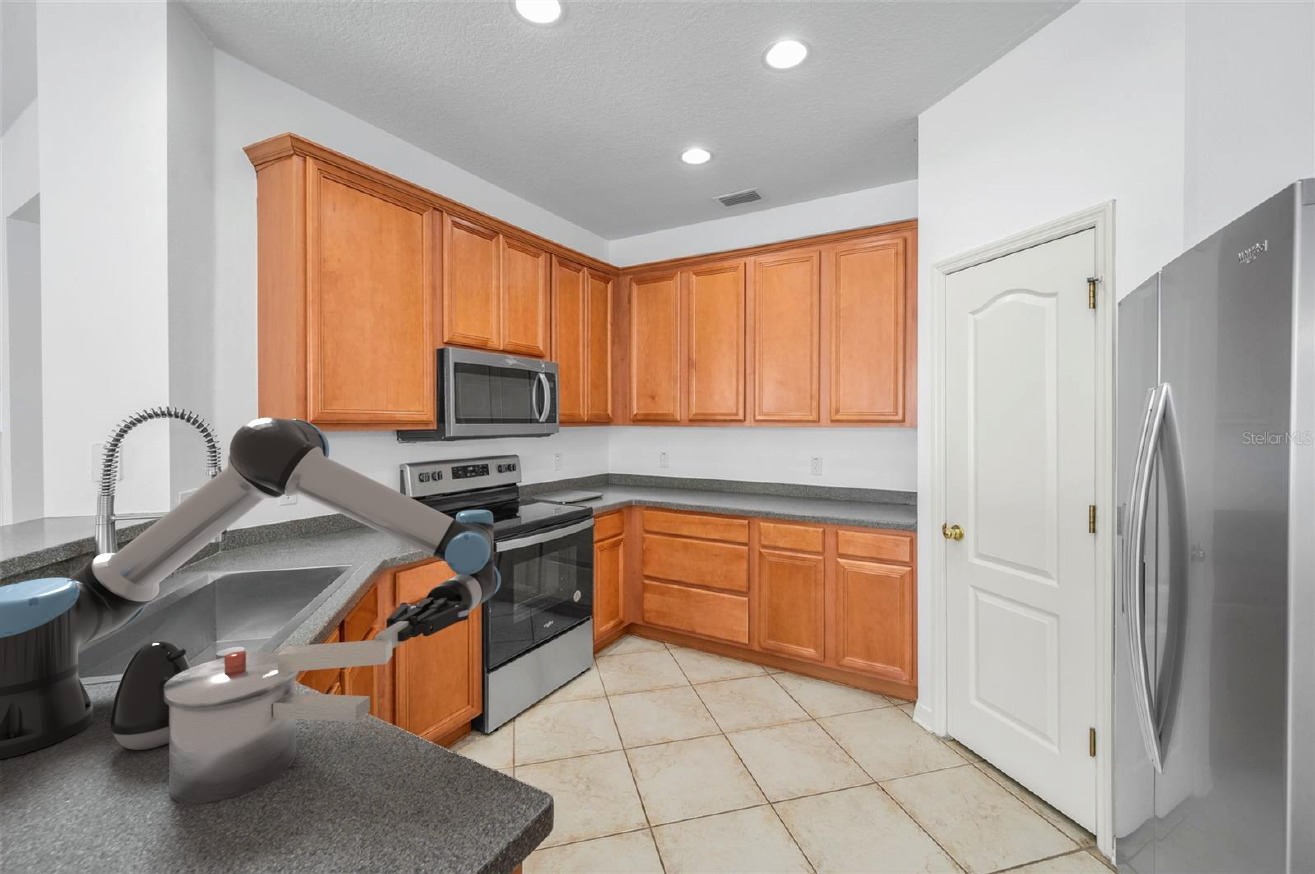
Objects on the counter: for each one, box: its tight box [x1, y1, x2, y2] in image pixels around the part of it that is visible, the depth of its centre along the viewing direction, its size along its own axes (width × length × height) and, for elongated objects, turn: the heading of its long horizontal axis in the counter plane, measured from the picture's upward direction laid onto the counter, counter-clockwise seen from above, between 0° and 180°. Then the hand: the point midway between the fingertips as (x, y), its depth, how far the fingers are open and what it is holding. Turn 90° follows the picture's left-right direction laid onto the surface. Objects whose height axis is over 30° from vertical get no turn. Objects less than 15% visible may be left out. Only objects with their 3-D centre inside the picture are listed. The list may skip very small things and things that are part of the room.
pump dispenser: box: [109, 640, 191, 751], centre depth 86 cm, size 10×10×15 cm
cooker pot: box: [168, 677, 371, 805], centre depth 77 cm, size 26×14×12 cm, turn 84°
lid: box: [164, 639, 393, 708], centre depth 79 cm, size 28×15×4 cm, turn 101°
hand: (380, 644), depth 83 cm, fingers closed
